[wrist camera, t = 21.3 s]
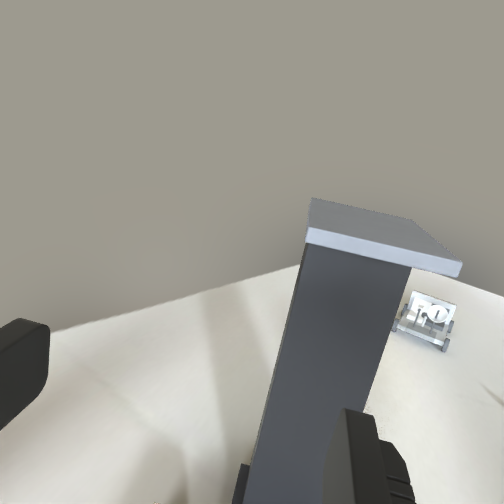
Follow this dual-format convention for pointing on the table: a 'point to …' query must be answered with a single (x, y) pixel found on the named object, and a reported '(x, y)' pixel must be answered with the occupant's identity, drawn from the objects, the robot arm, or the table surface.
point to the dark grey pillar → (332, 342)
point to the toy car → (427, 318)
